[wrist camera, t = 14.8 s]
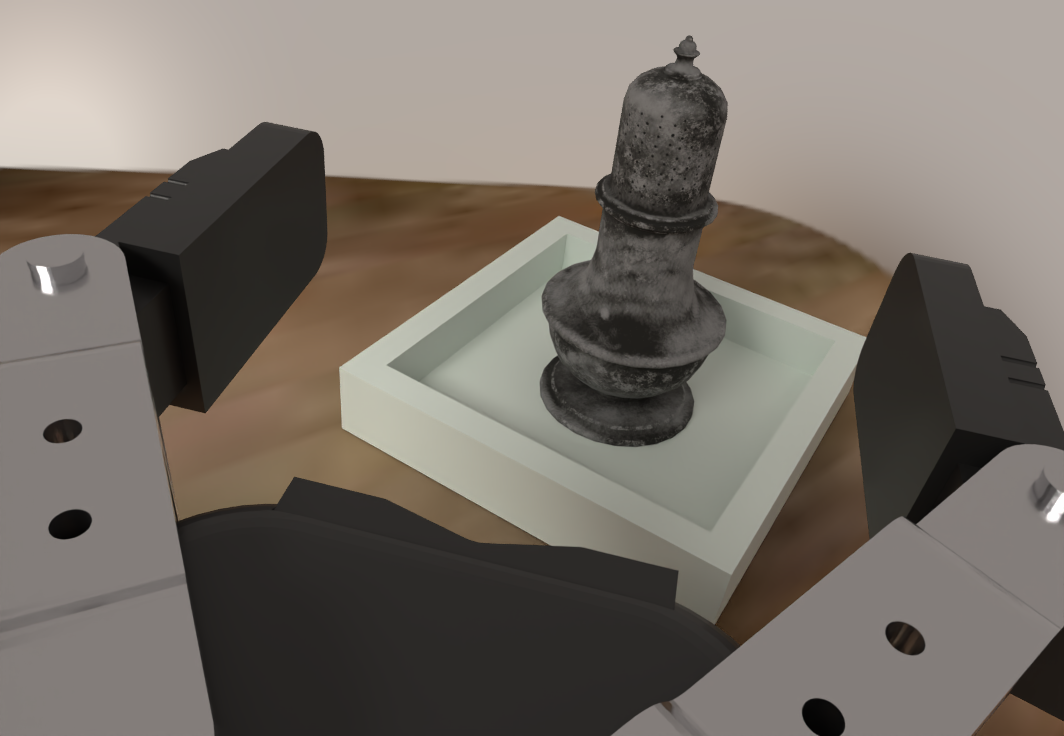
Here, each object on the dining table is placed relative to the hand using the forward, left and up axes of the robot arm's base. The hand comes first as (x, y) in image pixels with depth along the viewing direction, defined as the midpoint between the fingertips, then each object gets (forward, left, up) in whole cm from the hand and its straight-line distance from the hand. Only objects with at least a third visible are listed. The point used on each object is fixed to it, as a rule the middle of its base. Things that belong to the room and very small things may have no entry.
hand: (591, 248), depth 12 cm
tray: (-4, +12, -13) cm, 19 cm away
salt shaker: (-4, +12, -13) cm, 18 cm away
